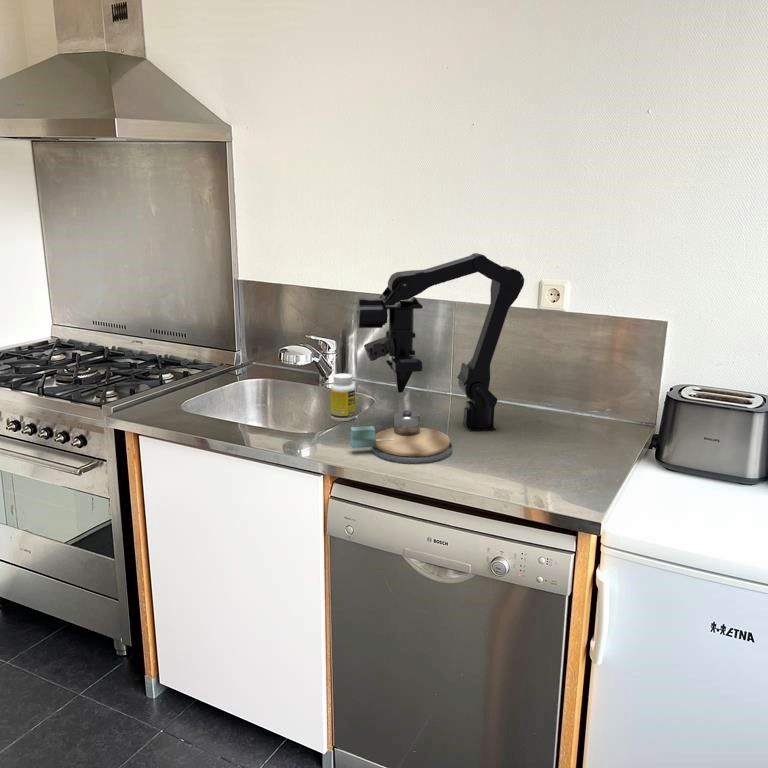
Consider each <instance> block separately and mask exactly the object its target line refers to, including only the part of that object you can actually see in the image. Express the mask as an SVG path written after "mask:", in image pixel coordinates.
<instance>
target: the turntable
mask: <svg viewBox="0 0 768 768" xmlns="http://www.w3.org/2000/svg"><path fill="white" fill-rule="evenodd" d="M450 443H451V439H450V437H449V436H448V435H447V434H446V433H444V432H442V431H439V430H437V429H432V428H428V427H427V428H426V427H421V426H420V433H419V434H417V435H414V436H401V435H397V434H395V433H394V427H390V428H387V429H383V430H381V431H378V432H377V433H376V429H375V426H373V425H370V426H369V425H367V426H351V427H350V446H351V449H358V448H359V449H361V448H363V449H364V448H371V447H376V448H377V449H379V450H381V451H383V452H386V453H389V454H393V455H399V456H409V457H420V456H430V455H435V454H439V453H441V452H443V451H445V450H447V449H448V448H449V446H450Z"/></svg>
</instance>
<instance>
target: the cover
mask: <svg viewBox="0 0 768 768" xmlns="http://www.w3.org/2000/svg"><path fill="white" fill-rule="evenodd" d="M420 427H421V414H420V413H419V412H416V411H411V410H406V409H405V410H403V411H398V412H395V413H394V414H393V428H394V433H395V434H397V435H401V436H414V435H417V434H419V433H420Z"/></svg>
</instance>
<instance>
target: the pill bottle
mask: <svg viewBox="0 0 768 768" xmlns="http://www.w3.org/2000/svg"><path fill="white" fill-rule="evenodd" d="M352 382H353V375H352V374H350V373H336V374H334V375H333V383H332V384H331V386H330V418H331V419H332V420H333V421H337V422H348V421H352V420H354V419H355V417H356V385H355V384H354V383H352Z"/></svg>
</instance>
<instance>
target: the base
mask: <svg viewBox="0 0 768 768" xmlns="http://www.w3.org/2000/svg"><path fill="white" fill-rule="evenodd" d="M452 449H453V444H452V443H451V442H450V446H449V448H448V449H447V450H445V451H443V452H441V453H439V454H435V455H430V456H420V457H409V456H399V455H393V454H389V453H386V452H383V451H381V450H379V449H377V448H376V447H370V450H371V452H372V454H373V455H375V456H376V457H377V458H379V459H381V460H384V461H388V462H392V463H397V464H405V465H426V464H433V463H437V462H440V461H443V460H445V459H447V458H449V456H450V455H451V454H452V451H453V450H452Z"/></svg>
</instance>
